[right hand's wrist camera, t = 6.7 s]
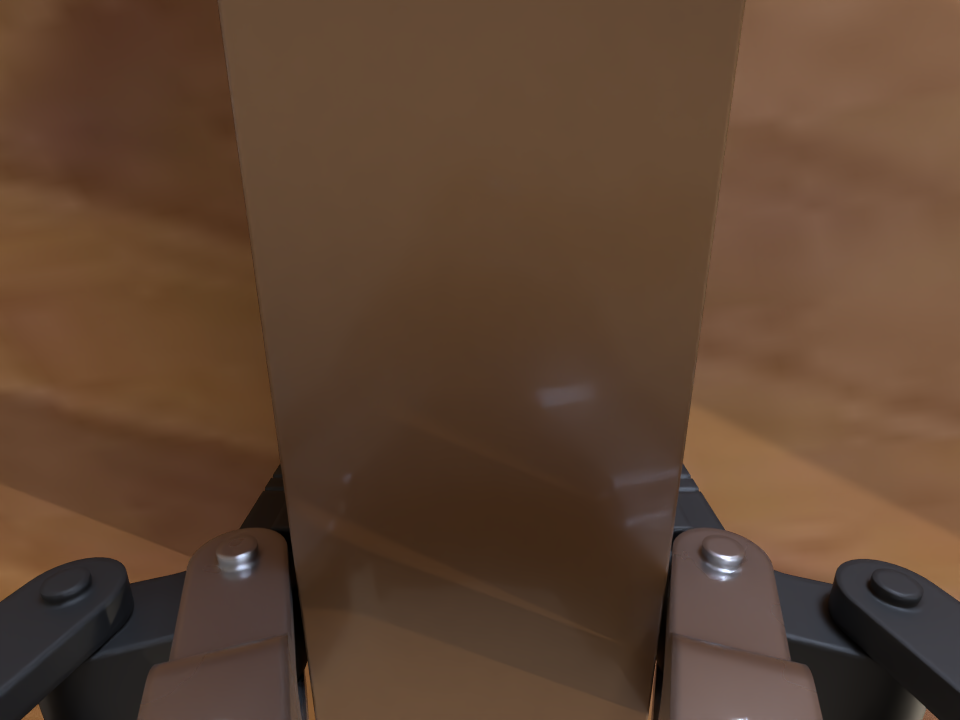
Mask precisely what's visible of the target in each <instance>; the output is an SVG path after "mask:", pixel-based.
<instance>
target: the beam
mask: <svg viewBox="0 0 960 720" xmlns="http://www.w3.org/2000/svg"><path fill="white" fill-rule="evenodd" d="M217 2H218V9H219V16H220V24H221V31H222V38H223V46H224V53H225V60H226V68H227V75H228V82H229V89H230V97H231V104H232V111H233V119H234V126H235V133H236V141H237V148H238V155H239V163H240V170H241V177H242V184H243V192H244V199H245V206H246V214H247V221H248V228H249V236H250V243H251V250H252V258H253V265H254V272H255V280H256V287H257V294H258V301H259V309H260V316H261V323H262V331H263V338H264V345H265V353H266V360H267V367H268V375H269V382H270V389H271V397H272V404H273V411H274V418H275V426H276V433H277V440H278V448H279V455H280V462H281V470H282V477H283V484H284V492H285V499H286V506H287V514H288V521H289V528H290V535H291V543H292V550H293V557H294V565H295V572H296V579H297V587H298V594H299V601H300V609H301V616H302V623H303V631H304V638H305V645H306V652H307V660H308V667H309V674H310V682H311V689H312V696H313V704H314V711H315V718H316V720H648V714H649V707H650V699H651V692H652V684H653V677H654V670H655V662H656V655H657V648H658V640H659V633H660V625H661V618H662V611H663V603H664V596H665V589H666V581H667V574H668V567H669V559H670V552H671V544H672V537H673V530H674V522H675V515H676V508H677V500H678V493H679V485H680V478H681V471H682V463H683V456H684V449H685V441H686V434H687V427H688V419H689V412H690V404H691V397H692V390H693V382H694V375H695V368H696V360H697V353H698V345H699V338H700V331H701V323H702V316H703V309H704V301H705V294H706V287H707V279H708V272H709V264H710V257H711V250H712V242H713V235H714V228H715V220H716V213H717V205H718V198H719V191H720V183H721V176H722V169H723V161H724V154H725V147H726V139H727V132H728V124H729V117H730V110H731V102H732V95H733V88H734V80H735V73H736V65H737V58H738V51H739V43H740V36H741V29H742V21H743V14H744V7H745V0H217Z"/></svg>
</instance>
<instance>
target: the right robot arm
mask: <svg viewBox="0 0 960 720" xmlns="http://www.w3.org/2000/svg"><path fill="white" fill-rule="evenodd" d="M307 661H308V660H307V652H306V645H305V638H304V631H303V623H302V616H301V609H300V601H299V594H298V587H297V579H296V572H295V565H294V557H293V550H292V543H291V535H290V528H289V521H288V514H287V506H286V499H285V492H284V484H283V477H282V470H281V463H280V465H279V466H278V468H277V470H276V471H275V473H274V474H273V478H271V479H270V481H269V482H268V484H267V486H266V487H265V491H263V492H262V494H261V495H260V497H259V498H258V500H257V502H256V503H255V505H254V506H253V508H252V510H251V511H250V513H249V514H248V516H247V518H246V519H245V521H244V522H243V524H242V526H241V527H240V529H239V530H234V531H231V532H228V533H225V534H222V535H220V536H218V537H216V538H214V539H212V540H210V541H208V542H207V543H206V544H204V545H203V546H201V547H200V548H199V549H198V550H197V551H196V552H195V553H194V554H193V556H192V557H191V559H190V560H189V563H188V566H187V571H184V572H180V573H177V574H173V575H168V576H163V577H159V578H154V579H149V580H145V581H140V582H135V583H131V584H130V583H129V579H128V575H127V572H126V569H125V567H124V565H123V564H122V563H120V562H119V561H117V560H114V559H111V558H104V557H95V558H86V559H81V560H76V561H72V562H69V563H66V564H63V565H60V566H57V567H55V568H53V569H51V570H48V571H46V572H44V573H43V574H41V575H39V576H37V577H36V578H34V579H33V580H31V581H29V582H28V583H27V584H25V585H24V586H22V587H21V588H19V589H18V590H17V591H15V592H14V593H12V594H11V595H10V596H8V597H7V598H5V599H4V600H2V601H1V602H0V720H21V719H22V718H23V717H24V716H25V715H26V714H28V713H29V712H30V711H31V710H32V709H33V708H34V707H35V706H36V705H37V704H39V707H40V709H41V712H42V715H43V718H44V720H309V716H308V701H307V686H306V677H305V670H304V669H305V667H306V664H307ZM656 661H657V663H656V670H655V677H654V686H653V701H652V716H651V720H922V719H923V716H924V714H925V711H926V708H927V709H928V710H929V711H930V712H931V713H932V714H934V715H935V716H936V717H937V718H938V719H939V720H960V602H959V601H958V600H956V599H955V598H953V597H952V596H950V595H949V594H948V593H946V592H945V591H943V590H942V589H941V588H939V587H938V586H936V585H935V584H933V583H932V582H930V581H929V580H927V579H926V578H924V577H922V576H920V575H918V574H917V573H915V572H912V571H910V570H908V569H906V568H903V567H900V566H897V565H894V564H891V563H887V562H883V561H878V560H870V559H856V560H850V561H847V562H845V563H843V564H841V565H840V566H839V567H838V568H837V571H836V574H835V578H834V582H833V584H830V583H825V582H820V581H816V580H811V579H806V578H801V577H797V576H792V575H788V574H784V573H781V572H778V571H775V570H773V566H772V563H771V560H770V559H769V557H768V556H767V554H766V553H765V552H764V551H763V550H762V549H761V548H760V547H759V546H757V545H756V544H754V543H753V542H752V541H750V540H748V539H746V538H744V537H742V536H740V535H738V534H735V533H732V532H729V531H726V530H725V529H724V528H723V526H722V524H721V523H720V521H719V520H718V518H717V517H716V515H715V513H714V512H713V510H712V509H711V507H710V505H709V504H708V502H707V501H706V499H705V498H704V496H703V494H702V493H701V492H699V488H698V487H697V485H696V483H695V482H694V480H693V479H691V477H690V474H689V472H688V471H687V469H686V468H685V466H684V465H683V463H682V471H681V478H680V485H679V493H678V500H677V508H676V515H675V522H674V530H673V537H672V544H671V552H670V559H669V567H668V574H667V581H666V589H665V596H664V603H663V611H662V618H661V625H660V633H659V640H658V648H657V655H656Z"/></svg>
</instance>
